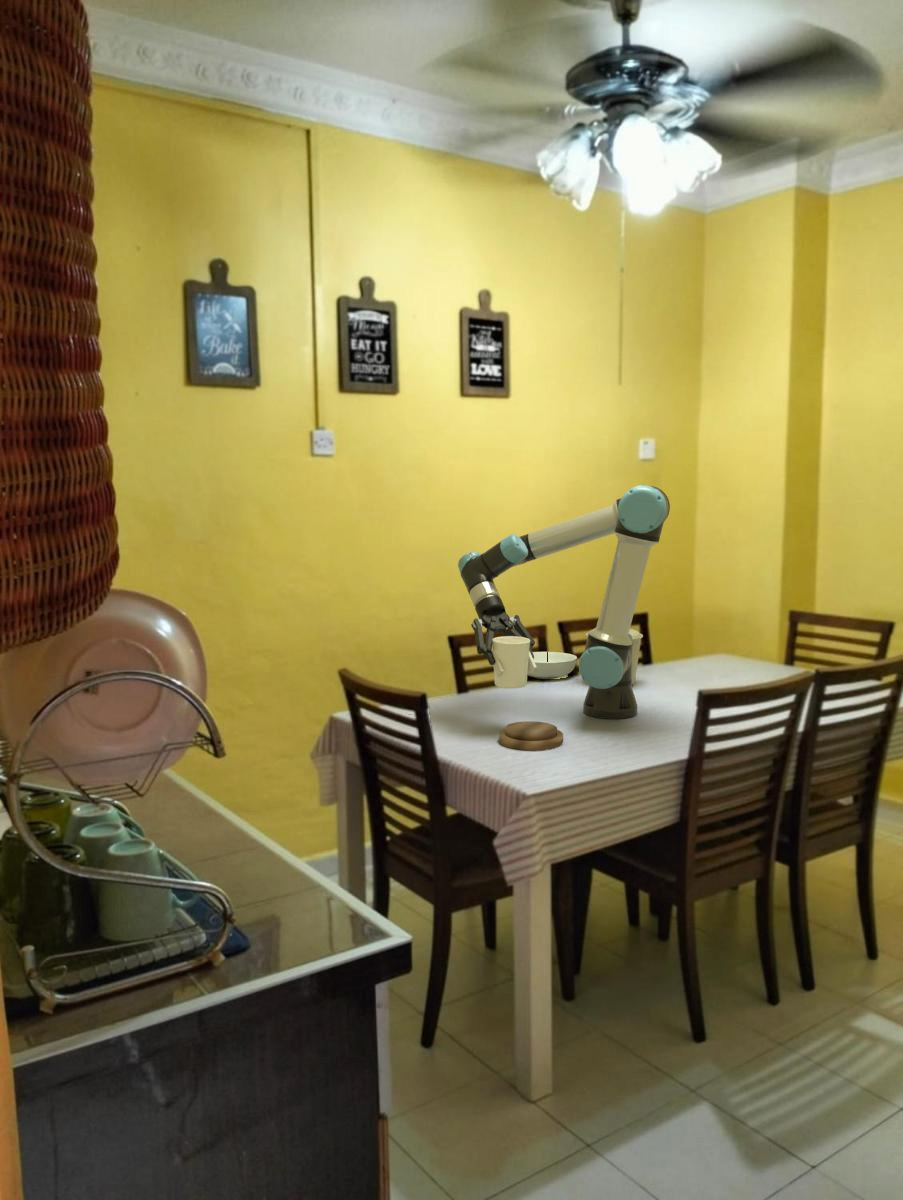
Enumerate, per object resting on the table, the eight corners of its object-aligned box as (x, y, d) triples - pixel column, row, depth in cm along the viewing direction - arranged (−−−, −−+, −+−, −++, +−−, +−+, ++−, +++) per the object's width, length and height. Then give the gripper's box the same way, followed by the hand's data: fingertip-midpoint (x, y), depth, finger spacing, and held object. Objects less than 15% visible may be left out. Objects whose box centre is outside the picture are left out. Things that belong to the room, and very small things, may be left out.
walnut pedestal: (569, 736, 237) (569, 722, 236) (554, 753, 222) (554, 739, 221) (509, 730, 242) (509, 717, 242) (490, 746, 227) (490, 733, 227)
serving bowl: (579, 671, 318) (579, 652, 317) (573, 684, 298) (573, 663, 297) (519, 669, 323) (519, 649, 322) (509, 681, 303) (509, 661, 302)
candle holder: (529, 689, 236) (530, 643, 234) (491, 689, 237) (492, 643, 235) (529, 680, 246) (529, 636, 244) (492, 680, 246) (492, 635, 245)
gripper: (517, 608, 257) (547, 675, 245) (447, 614, 247) (475, 684, 236) (527, 591, 252) (558, 659, 240) (456, 597, 242) (485, 668, 230)
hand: (517, 672), depth 238 cm, fingers closed on candle holder, 9 cm apart
